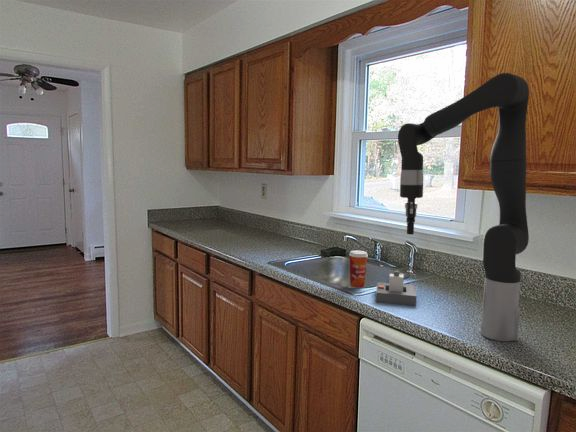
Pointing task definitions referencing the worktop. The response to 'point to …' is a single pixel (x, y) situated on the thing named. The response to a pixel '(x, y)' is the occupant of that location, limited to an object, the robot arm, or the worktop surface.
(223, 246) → the worktop surface
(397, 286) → the plug
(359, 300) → the worktop surface
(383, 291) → the socket
